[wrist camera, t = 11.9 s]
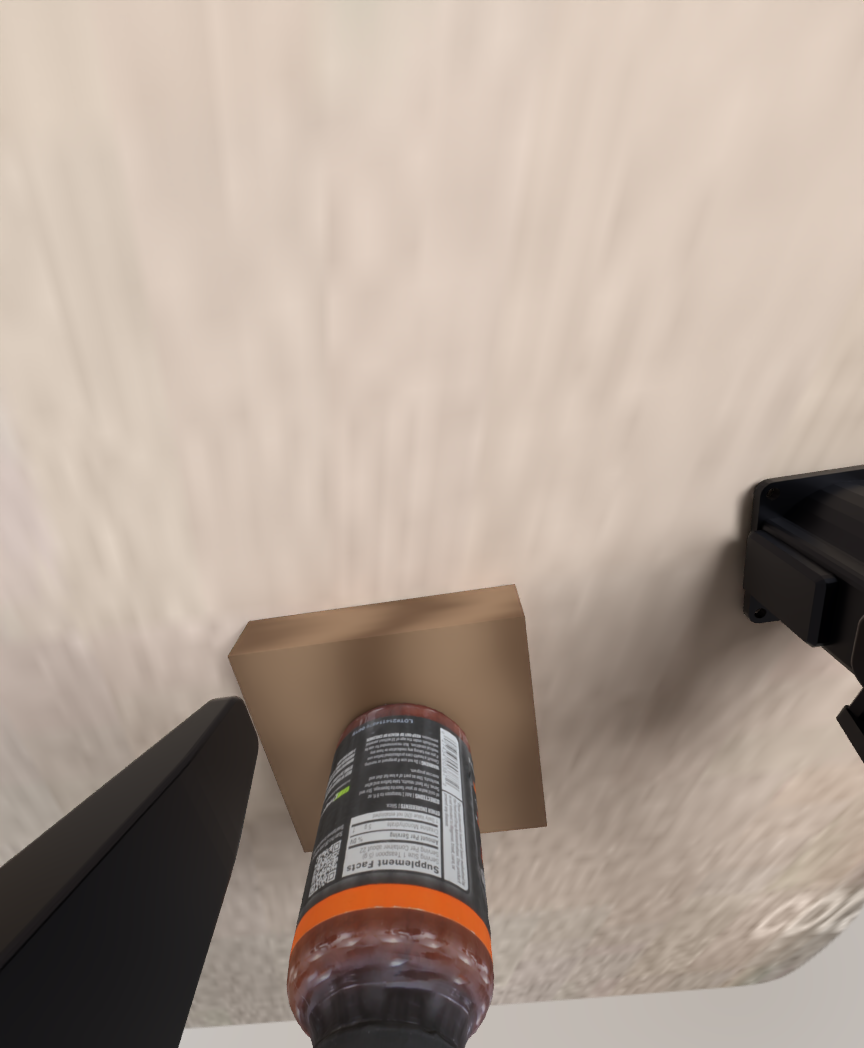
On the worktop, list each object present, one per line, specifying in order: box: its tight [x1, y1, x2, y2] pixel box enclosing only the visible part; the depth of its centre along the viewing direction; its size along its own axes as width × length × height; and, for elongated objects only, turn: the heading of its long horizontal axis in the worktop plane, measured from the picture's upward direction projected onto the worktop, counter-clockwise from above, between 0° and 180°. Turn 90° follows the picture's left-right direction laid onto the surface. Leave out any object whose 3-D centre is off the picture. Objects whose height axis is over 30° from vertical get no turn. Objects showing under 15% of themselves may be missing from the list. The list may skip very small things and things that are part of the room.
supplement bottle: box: [287, 703, 494, 1048], centre depth 17 cm, size 6×6×11 cm
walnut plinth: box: [228, 584, 547, 852], centre depth 23 cm, size 12×12×2 cm
